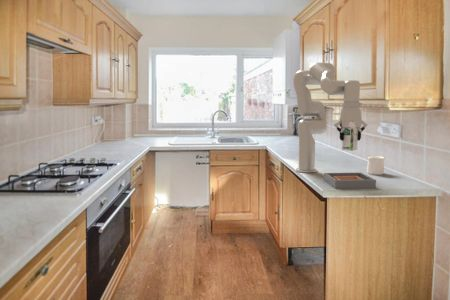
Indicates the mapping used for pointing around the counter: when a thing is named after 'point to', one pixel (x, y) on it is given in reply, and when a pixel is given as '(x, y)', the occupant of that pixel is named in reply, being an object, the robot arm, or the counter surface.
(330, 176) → the walled box
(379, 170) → the cup
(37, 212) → the counter surface
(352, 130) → the syrup box
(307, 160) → the robot arm
